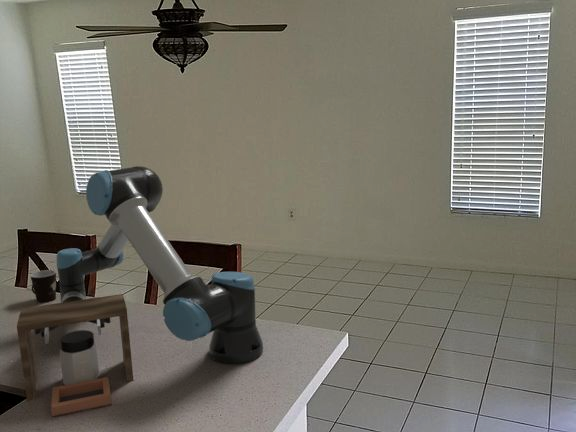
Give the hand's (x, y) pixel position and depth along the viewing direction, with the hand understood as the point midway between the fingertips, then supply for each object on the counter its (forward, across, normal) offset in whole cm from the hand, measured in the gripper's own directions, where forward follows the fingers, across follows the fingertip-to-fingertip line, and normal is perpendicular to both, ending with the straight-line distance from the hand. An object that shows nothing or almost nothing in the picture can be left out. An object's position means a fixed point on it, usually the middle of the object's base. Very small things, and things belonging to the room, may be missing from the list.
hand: (73, 334), depth 149 cm
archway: (+10, -1, -8) cm, 13 cm away
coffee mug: (-57, +11, -9) cm, 59 cm away
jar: (+10, -1, -9) cm, 13 cm away
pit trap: (+22, -1, -8) cm, 23 cm away
